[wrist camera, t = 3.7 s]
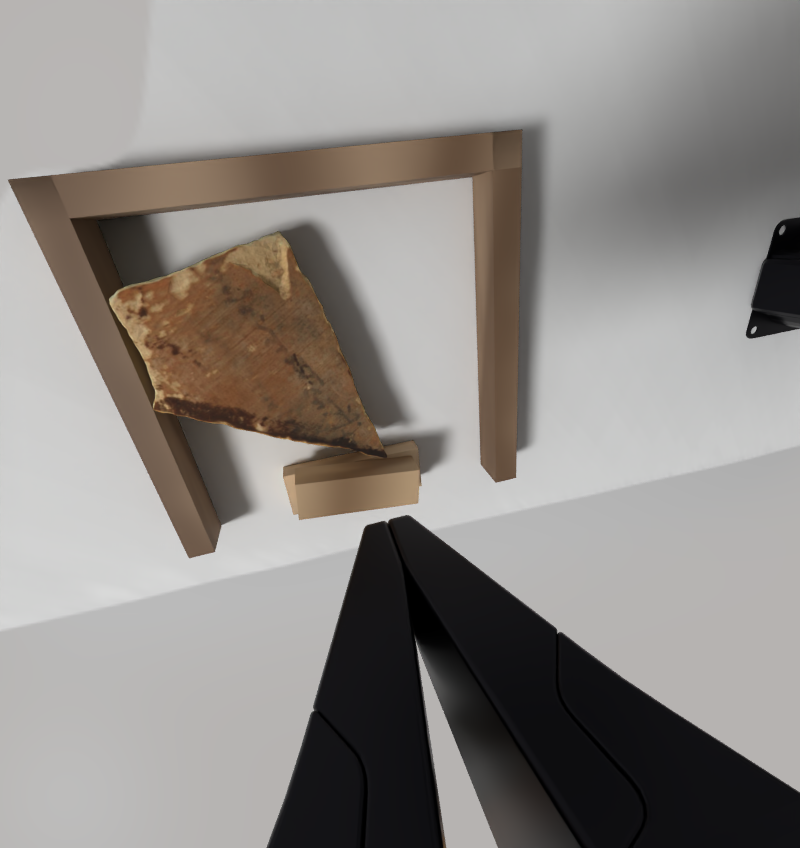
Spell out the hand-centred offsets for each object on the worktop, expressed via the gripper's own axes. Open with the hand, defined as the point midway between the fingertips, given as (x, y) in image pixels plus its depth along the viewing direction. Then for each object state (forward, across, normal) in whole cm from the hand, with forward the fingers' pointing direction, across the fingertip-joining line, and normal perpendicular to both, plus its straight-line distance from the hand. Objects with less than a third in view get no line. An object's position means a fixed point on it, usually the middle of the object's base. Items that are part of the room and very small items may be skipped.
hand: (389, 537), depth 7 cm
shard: (+14, -2, +1) cm, 15 cm away
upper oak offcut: (+12, 0, +6) cm, 14 cm away
